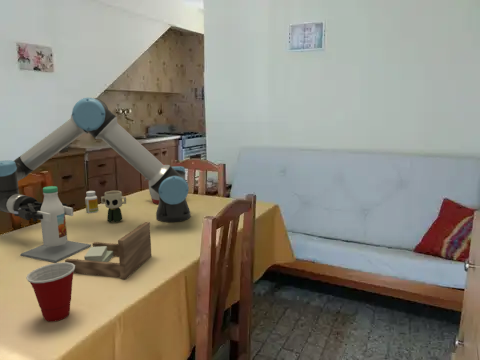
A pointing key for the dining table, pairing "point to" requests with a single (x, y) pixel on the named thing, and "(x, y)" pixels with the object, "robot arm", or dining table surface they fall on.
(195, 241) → the dining table surface
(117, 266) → the tray
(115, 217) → the character mug
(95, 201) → the supplement bottle
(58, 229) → the milk bottle
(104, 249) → the offcut stack
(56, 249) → the slate tile
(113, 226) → the dining table surface
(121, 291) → the dining table surface
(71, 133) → the robot arm
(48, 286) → the plastic cup
